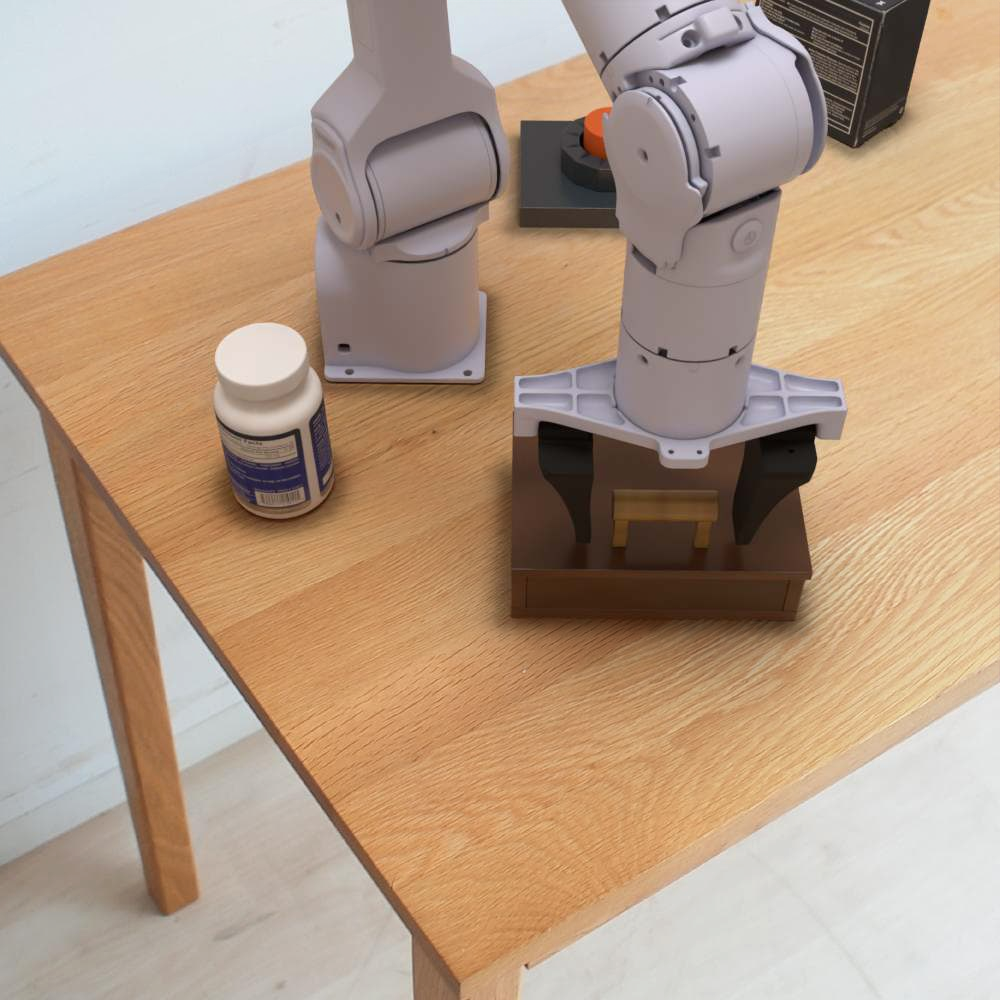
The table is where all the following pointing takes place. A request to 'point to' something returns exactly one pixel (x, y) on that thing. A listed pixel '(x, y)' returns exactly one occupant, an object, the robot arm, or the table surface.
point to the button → (595, 133)
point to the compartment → (655, 598)
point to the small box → (857, 56)
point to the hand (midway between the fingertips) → (661, 528)
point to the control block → (563, 178)
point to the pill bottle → (272, 421)
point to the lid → (650, 520)
